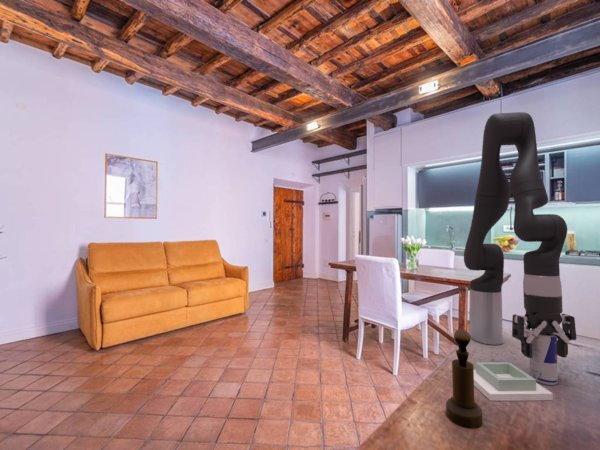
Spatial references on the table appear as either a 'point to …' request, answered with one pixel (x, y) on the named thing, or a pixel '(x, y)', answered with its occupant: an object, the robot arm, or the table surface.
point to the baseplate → (507, 383)
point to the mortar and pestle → (463, 387)
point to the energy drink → (544, 359)
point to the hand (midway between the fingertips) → (544, 356)
